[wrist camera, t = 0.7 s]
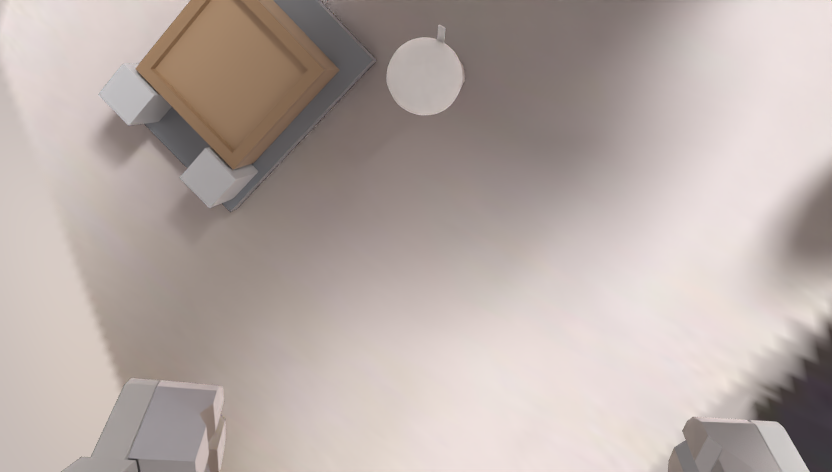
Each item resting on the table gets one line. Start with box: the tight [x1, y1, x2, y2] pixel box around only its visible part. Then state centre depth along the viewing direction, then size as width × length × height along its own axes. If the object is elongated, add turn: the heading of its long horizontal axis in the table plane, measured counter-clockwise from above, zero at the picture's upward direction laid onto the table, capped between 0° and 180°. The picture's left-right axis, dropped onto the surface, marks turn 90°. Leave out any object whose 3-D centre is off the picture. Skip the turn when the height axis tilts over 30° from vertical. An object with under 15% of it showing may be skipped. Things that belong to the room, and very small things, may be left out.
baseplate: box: [98, 0, 376, 212], centre depth 49 cm, size 16×12×5 cm
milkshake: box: [386, 25, 465, 115], centre depth 44 cm, size 4×5×10 cm
